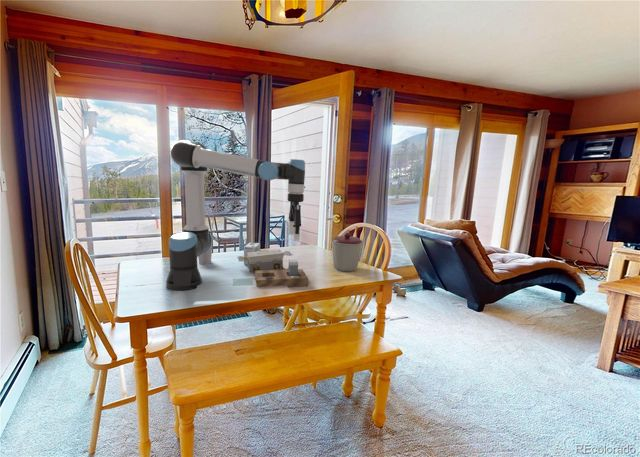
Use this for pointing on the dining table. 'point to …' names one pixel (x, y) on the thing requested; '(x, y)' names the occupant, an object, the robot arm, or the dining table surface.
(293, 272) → the plug
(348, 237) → the canister
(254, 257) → the electrical outlet
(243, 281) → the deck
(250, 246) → the light bulb box
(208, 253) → the coffee cup
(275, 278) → the socket board
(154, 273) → the dining table surface
